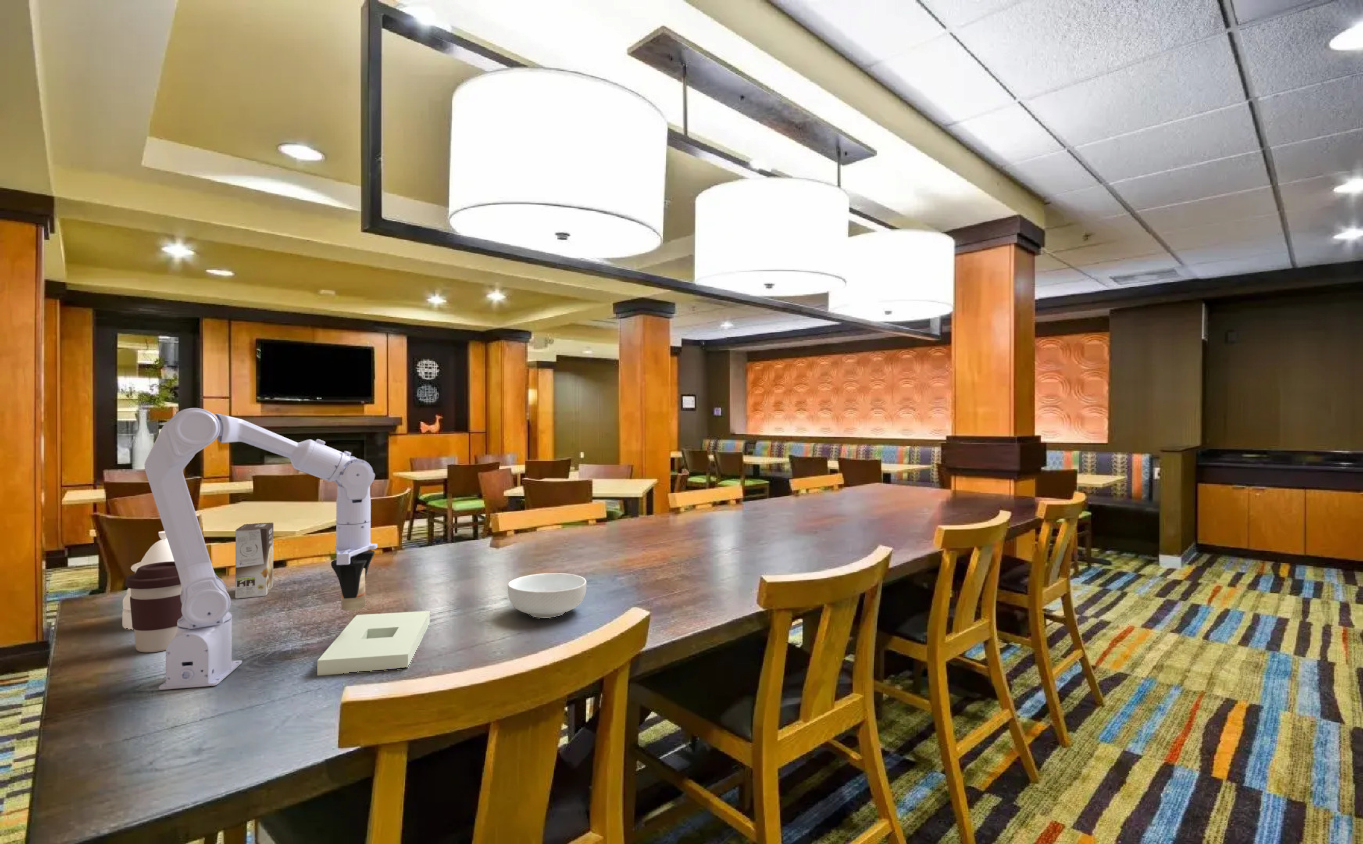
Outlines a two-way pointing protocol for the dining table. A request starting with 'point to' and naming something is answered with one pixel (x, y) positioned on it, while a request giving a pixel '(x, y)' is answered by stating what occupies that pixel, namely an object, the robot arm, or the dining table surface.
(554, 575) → the cereal bowl
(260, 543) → the coffee box
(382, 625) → the board
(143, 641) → the coffee cup
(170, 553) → the honey pot
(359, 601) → the peg
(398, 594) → the dining table surface
